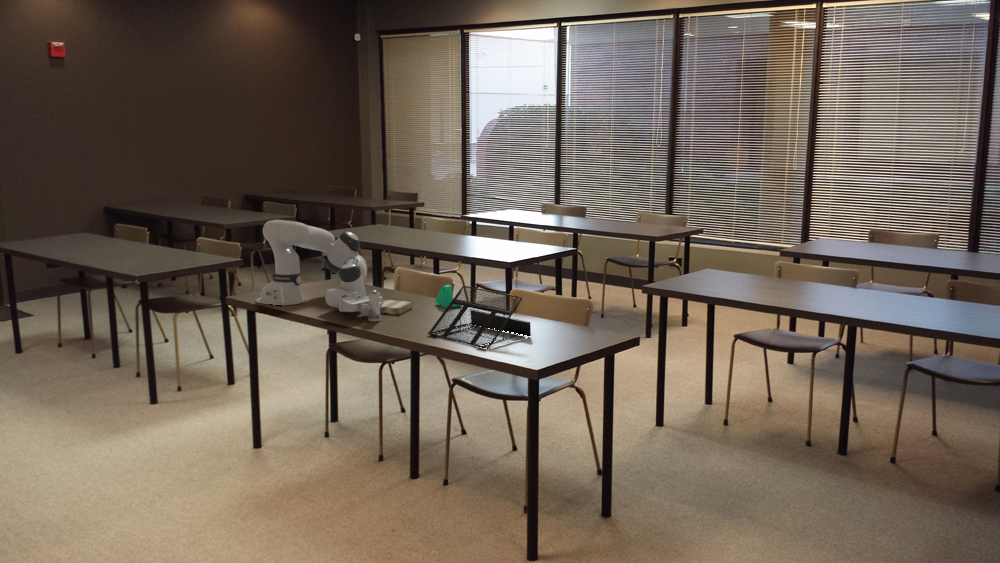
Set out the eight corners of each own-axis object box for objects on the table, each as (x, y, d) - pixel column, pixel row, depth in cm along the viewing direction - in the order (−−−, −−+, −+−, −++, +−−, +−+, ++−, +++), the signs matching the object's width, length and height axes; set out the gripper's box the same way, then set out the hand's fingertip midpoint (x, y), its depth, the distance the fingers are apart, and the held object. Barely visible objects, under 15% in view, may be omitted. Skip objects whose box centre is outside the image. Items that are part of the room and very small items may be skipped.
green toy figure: (464, 307, 387) (464, 285, 385) (452, 309, 381) (452, 287, 379) (447, 302, 395) (447, 281, 393) (435, 305, 390) (435, 284, 388)
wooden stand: (371, 312, 373) (371, 305, 372) (384, 305, 386) (384, 299, 385) (399, 314, 368) (399, 308, 368) (412, 308, 382) (412, 302, 381)
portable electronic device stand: (425, 336, 334) (425, 292, 330) (472, 324, 354) (473, 283, 351) (485, 352, 312) (486, 305, 309) (532, 338, 333) (533, 294, 329)
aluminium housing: (364, 320, 357) (364, 290, 355) (374, 317, 362) (374, 288, 360) (374, 322, 354) (374, 292, 351) (384, 319, 359) (384, 290, 356)
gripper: (370, 304, 373) (392, 308, 365) (336, 312, 357) (359, 317, 349) (370, 290, 372) (392, 294, 364) (336, 298, 356) (359, 302, 348)
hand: (375, 305), depth 356 cm, fingers closed on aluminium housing, 5 cm apart
